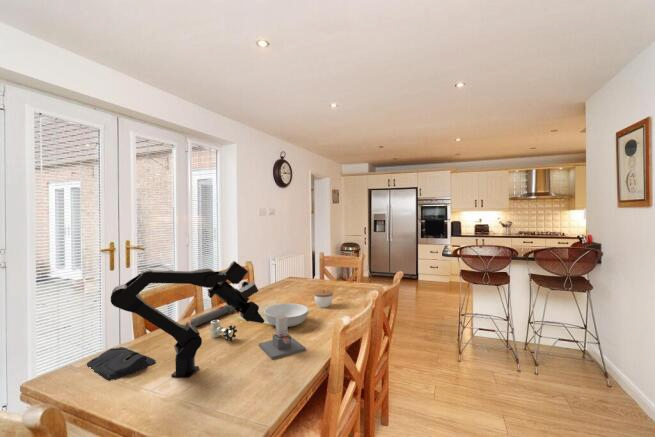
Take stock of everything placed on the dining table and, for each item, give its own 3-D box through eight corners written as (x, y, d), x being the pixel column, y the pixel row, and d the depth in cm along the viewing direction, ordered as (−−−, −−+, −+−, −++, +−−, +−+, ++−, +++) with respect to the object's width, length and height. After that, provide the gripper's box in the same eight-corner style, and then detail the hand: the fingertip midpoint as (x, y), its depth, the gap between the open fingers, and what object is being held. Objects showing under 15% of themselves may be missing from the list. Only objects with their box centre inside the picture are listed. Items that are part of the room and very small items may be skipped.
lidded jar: (311, 304, 182) (311, 288, 181) (328, 302, 186) (328, 286, 186) (318, 310, 172) (318, 293, 172) (336, 307, 176) (336, 290, 176)
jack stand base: (271, 359, 115) (271, 345, 114) (258, 345, 126) (258, 332, 126) (305, 350, 122) (305, 337, 122) (290, 338, 134) (290, 325, 134)
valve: (206, 337, 135) (225, 343, 129) (205, 322, 135) (224, 327, 129) (218, 332, 141) (237, 338, 134) (218, 318, 141) (237, 322, 134)
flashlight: (188, 327, 147) (188, 317, 147) (229, 310, 173) (229, 301, 173) (196, 329, 145) (195, 318, 145) (236, 311, 171) (236, 302, 171)
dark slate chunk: (128, 350, 124) (128, 338, 124) (158, 364, 112) (158, 351, 112) (82, 366, 111) (81, 353, 111) (110, 384, 99) (110, 370, 99)
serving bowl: (256, 329, 144) (256, 314, 144) (275, 315, 164) (275, 302, 164) (300, 333, 139) (300, 318, 139) (313, 318, 159) (313, 304, 159)
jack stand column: (279, 347, 122) (279, 318, 121) (275, 344, 125) (275, 316, 125) (287, 345, 124) (287, 317, 123) (284, 342, 127) (283, 314, 126)
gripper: (252, 281, 108) (282, 307, 114) (236, 272, 124) (264, 295, 130) (229, 308, 104) (262, 333, 110) (216, 295, 120) (246, 318, 126)
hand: (259, 318), depth 119 cm, fingers open, 9 cm apart
